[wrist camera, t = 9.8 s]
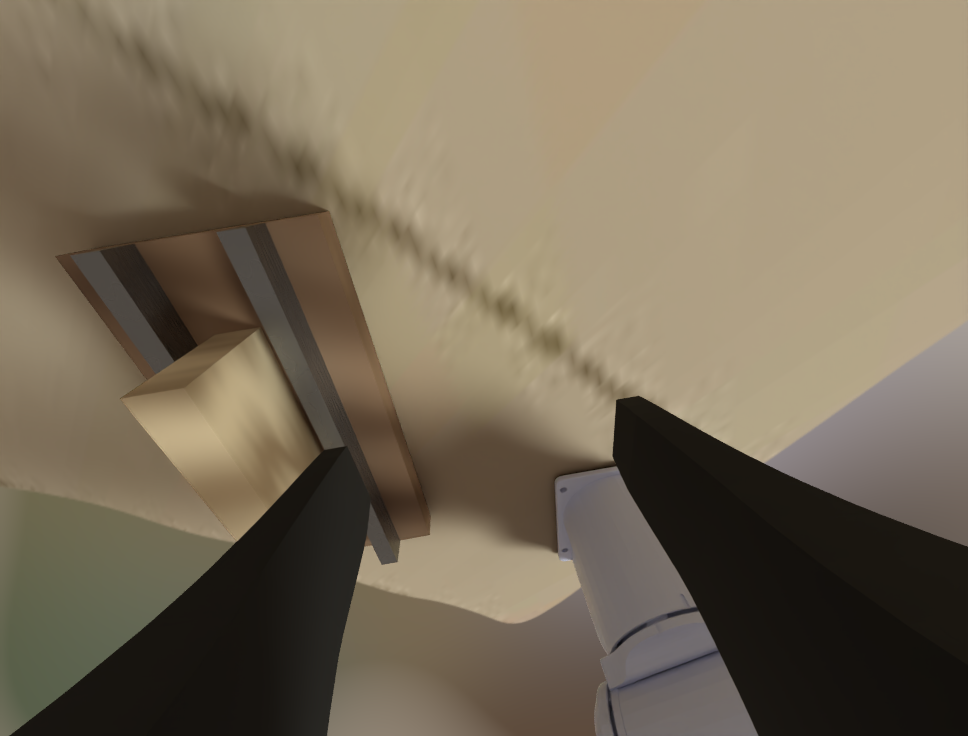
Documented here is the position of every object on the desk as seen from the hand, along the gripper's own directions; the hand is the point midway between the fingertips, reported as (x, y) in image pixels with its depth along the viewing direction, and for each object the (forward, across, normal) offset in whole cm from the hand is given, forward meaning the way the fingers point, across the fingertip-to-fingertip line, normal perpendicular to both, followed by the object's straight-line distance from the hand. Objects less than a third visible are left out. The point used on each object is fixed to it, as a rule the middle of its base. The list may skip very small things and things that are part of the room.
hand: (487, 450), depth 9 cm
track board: (+9, +10, +4) cm, 14 cm away
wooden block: (+8, +10, +3) cm, 13 cm away
